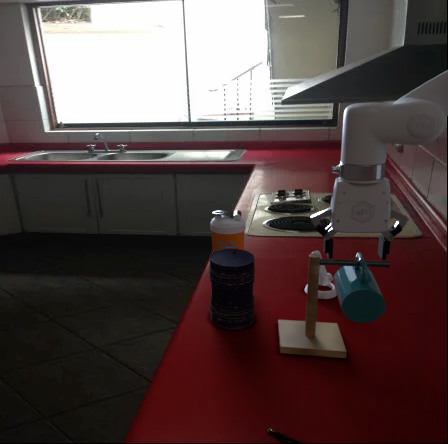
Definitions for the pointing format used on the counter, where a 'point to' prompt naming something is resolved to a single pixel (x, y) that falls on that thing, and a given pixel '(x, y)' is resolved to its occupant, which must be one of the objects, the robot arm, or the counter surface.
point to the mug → (359, 293)
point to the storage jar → (232, 288)
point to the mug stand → (310, 329)
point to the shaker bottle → (227, 230)
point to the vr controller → (324, 282)
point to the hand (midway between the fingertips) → (355, 256)
